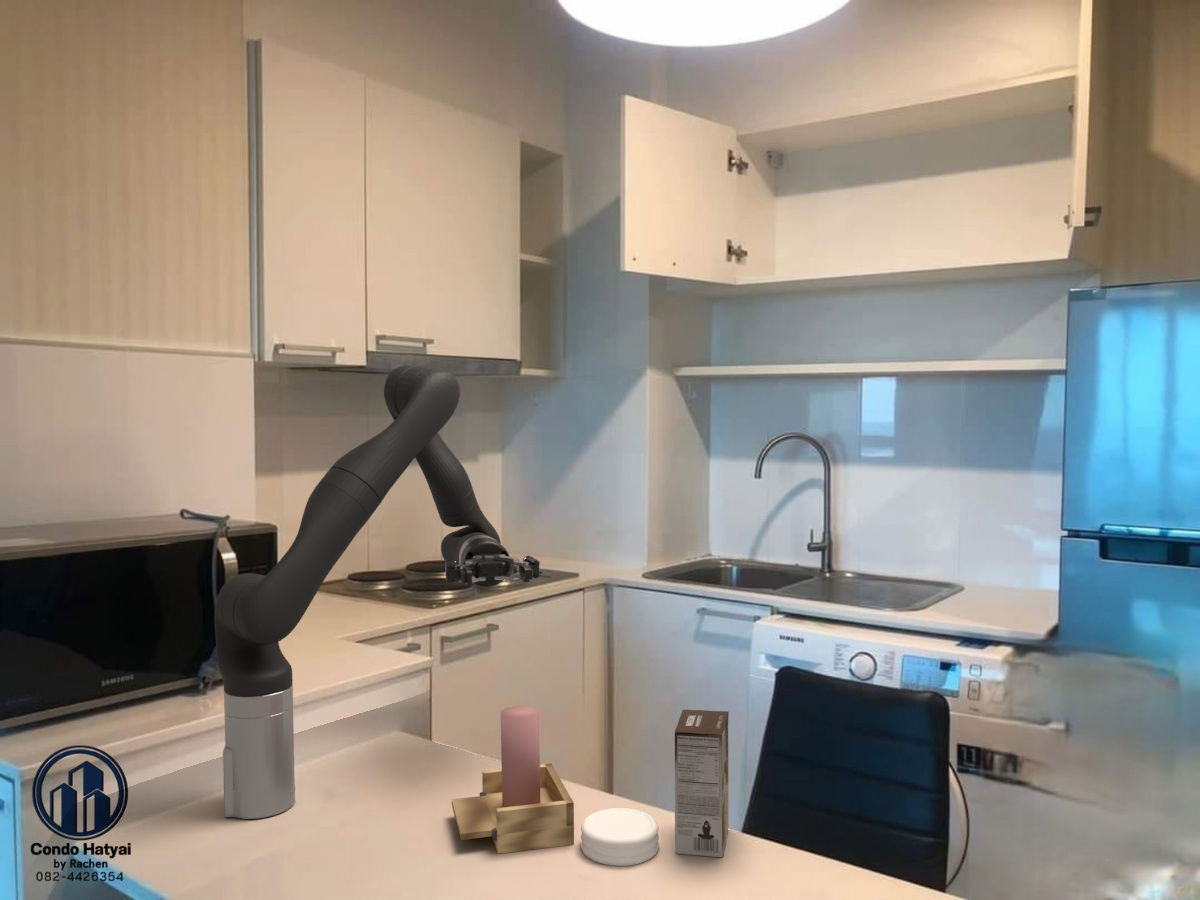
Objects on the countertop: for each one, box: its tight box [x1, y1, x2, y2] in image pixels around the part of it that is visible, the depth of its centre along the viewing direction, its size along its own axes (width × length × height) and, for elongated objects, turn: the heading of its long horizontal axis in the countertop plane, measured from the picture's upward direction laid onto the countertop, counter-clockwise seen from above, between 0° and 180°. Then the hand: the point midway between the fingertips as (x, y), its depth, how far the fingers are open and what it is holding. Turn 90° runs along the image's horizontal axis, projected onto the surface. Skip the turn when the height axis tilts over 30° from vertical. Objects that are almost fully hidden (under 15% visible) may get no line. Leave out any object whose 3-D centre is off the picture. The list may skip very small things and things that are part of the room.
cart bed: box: [451, 763, 575, 855], centre depth 127 cm, size 14×14×6 cm
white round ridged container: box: [580, 807, 660, 867], centre depth 122 cm, size 10×10×4 cm
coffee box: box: [674, 709, 729, 858], centre depth 123 cm, size 9×6×16 cm
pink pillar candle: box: [500, 705, 541, 808], centre depth 128 cm, size 5×5×13 cm
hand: (498, 577), depth 138 cm, fingers open, 8 cm apart
